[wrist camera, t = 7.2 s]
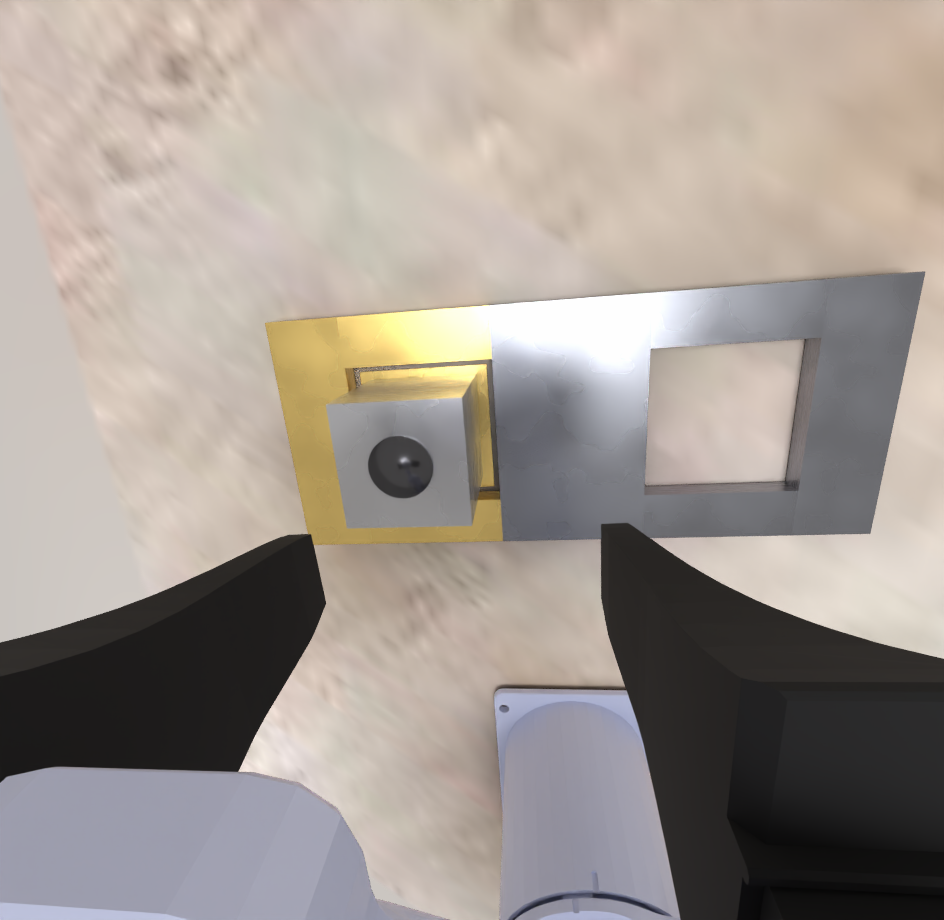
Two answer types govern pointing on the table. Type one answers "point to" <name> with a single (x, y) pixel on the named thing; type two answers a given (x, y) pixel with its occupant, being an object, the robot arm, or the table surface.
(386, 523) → the grey cube with hole
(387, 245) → the table surface
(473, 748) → the table surface
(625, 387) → the rail
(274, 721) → the table surface
